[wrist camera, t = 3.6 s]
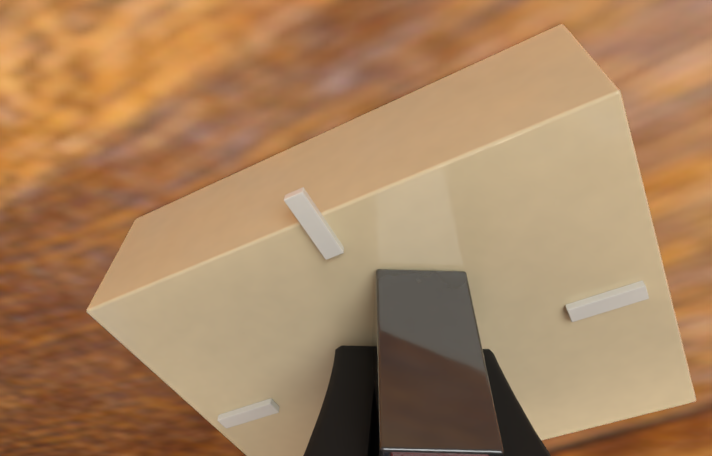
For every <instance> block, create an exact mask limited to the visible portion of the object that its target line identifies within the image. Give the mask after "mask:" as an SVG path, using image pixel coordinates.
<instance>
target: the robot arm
mask: <svg viewBox="0 0 712 456" xmlns="http://www.w3.org/2000/svg"><path fill="white" fill-rule="evenodd" d="M483 354H484V359H485V364H486V368H487V373H488V378H489V383H490V387H491V392H492V397H493V402H494V406H495V411H496V416H497V421H498V426H499V430H500V435H501V440H502V445H503V449H504V453H503V456H550V454H549V452H548V451H547V449H546V447H545V446H544V444H543V443H542V441H541V439H540V438H539V436H538V435H537V433H536V431H535V430H534V428H533V426H532V425H531V423H530V421H529V419H528V418H527V416H526V414H525V413H524V411H523V409H522V407H521V405H520V404H519V402H518V400H517V398H516V396H515V395H514V393H513V391H512V389H511V387H510V385H509V383H508V381H507V380H506V378H505V376H504V374H503V372H502V370H501V368H500V366H499V364H498V362H497V359H496V357H495V355H494V353H493V352H492V351H491V350H490V349H483ZM373 394H374V369H373V346H344V345H341V346H340V347H338V348H337V349H335V357H334V363H333V368H332V373H331V377H330V381H329V384H328V388H327V391H326V395H325V398H324V401H323V404H322V407H321V410H320V413H319V416H318V419H317V421H316V424H315V427H314V429H313V432H312V435H311V437H310V440H309V443H308V445H307V448H306V450H305V453H304V455H303V456H370V442H371V426H372V410H373Z"/></svg>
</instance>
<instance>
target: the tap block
mask: <svg viewBox="0 0 712 456" xmlns="http://www.w3.org/2000/svg"><path fill="white" fill-rule="evenodd" d="M377 269H394V270H434V271H465V272H466V274H467V278H468V283H469V287H470V292H471V297H472V302H473V306H474V311H475V316H476V321H477V325H478V330H479V335H480V340H481V344H482V349H490V350H491V351H492V352H493V353H494V355H495V357H496V359H497V362H498V364H499V366H500V368H501V370H502V372H503V374H504V376H505V378H506V380H507V381H508V383H509V385H510V387H511V389H512V391H513V393H514V395H515V396H516V398H517V400H518V402H519V404H520V405H521V407H522V409H523V411H524V413H525V414H526V416H527V418H528V419H529V421H530V423H531V425H532V426H533V428H534V430H535V431H536V433H537V435H538V436H539V438H540V439H541V441H542V440H546V439H550V438H554V437H558V436H562V435H565V434H569V433H573V432H577V431H581V430H585V429H589V428H593V427H597V426H601V425H605V424H609V423H613V422H617V421H621V420H625V419H629V418H633V417H637V416H641V415H645V414H649V413H653V412H657V411H660V410H664V409H668V408H672V407H676V406H680V405H684V404H688V403H692V402H695V401H696V396H695V392H694V388H693V384H692V379H691V375H690V371H689V367H688V363H687V359H686V355H685V351H684V347H683V343H682V339H681V335H680V331H679V327H678V323H677V318H676V314H675V310H674V306H673V302H672V298H671V294H670V290H669V286H668V282H667V278H666V274H665V270H664V266H663V261H662V257H661V253H660V249H659V245H658V241H657V237H656V233H655V229H654V225H653V221H652V217H651V213H650V209H649V204H648V200H647V196H646V192H645V188H644V184H643V180H642V176H641V172H640V168H639V164H638V160H637V156H636V152H635V148H634V143H633V139H632V135H631V131H630V127H629V123H628V119H627V115H626V111H625V107H624V103H623V99H622V95H621V91H620V90H619V89H618V88H617V87H616V86H615V84H614V83H613V82H612V81H611V80H610V78H609V77H608V76H607V75H606V74H605V73H604V71H603V70H602V69H601V68H600V67H599V66H598V64H597V63H596V62H595V61H594V60H593V58H592V57H591V56H590V55H589V54H588V53H587V51H586V50H585V49H584V48H583V47H582V45H581V44H580V43H579V42H578V41H577V40H576V38H575V37H574V36H573V35H572V34H571V33H570V31H569V30H568V29H567V28H566V27H565V25H564V24H560V25H558V26H556V27H553V28H551V29H549V30H547V31H545V32H542V33H540V34H538V35H536V36H534V37H532V38H529V39H527V40H525V41H523V42H521V43H518V44H516V45H514V46H512V47H510V48H508V49H505V50H503V51H501V52H499V53H497V54H494V55H492V56H490V57H488V58H486V59H484V60H481V61H479V62H477V63H475V64H473V65H470V66H468V67H466V68H464V69H462V70H460V71H457V72H455V73H453V74H451V75H449V76H446V77H444V78H442V79H440V80H438V81H436V82H433V83H431V84H429V85H427V86H425V87H422V88H420V89H418V90H416V91H414V92H412V93H409V94H407V95H405V96H403V97H401V98H399V99H396V100H394V101H392V102H390V103H388V104H385V105H383V106H381V107H379V108H377V109H375V110H372V111H370V112H368V113H366V114H364V115H361V116H359V117H357V118H355V119H353V120H351V121H348V122H346V123H344V124H342V125H340V126H337V127H335V128H333V129H331V130H329V131H327V132H324V133H322V134H320V135H318V136H316V137H313V138H311V139H309V140H307V141H305V142H303V143H300V144H298V145H296V146H294V147H292V148H289V149H287V150H285V151H283V152H281V153H279V154H276V155H274V156H272V157H270V158H268V159H265V160H263V161H261V162H259V163H257V164H255V165H252V166H250V167H248V168H246V169H244V170H241V171H239V172H237V173H235V174H233V175H231V176H228V177H226V178H224V179H222V180H220V181H217V182H215V183H213V184H211V185H209V186H207V187H204V188H202V189H200V190H198V191H196V192H193V193H191V194H189V195H187V196H185V197H183V198H180V199H178V200H176V201H174V202H172V203H169V204H167V205H165V206H163V207H161V208H159V209H156V210H154V211H152V212H150V213H148V214H145V215H143V216H141V217H139V218H137V219H135V221H134V223H133V224H132V226H131V228H130V230H129V232H128V234H127V236H126V237H125V239H124V241H123V243H122V245H121V247H120V249H119V250H118V252H117V254H116V256H115V258H114V260H113V262H112V263H111V265H110V267H109V269H108V271H107V273H106V275H105V277H104V278H103V280H102V282H101V284H100V286H99V288H98V290H97V291H96V293H95V295H94V297H93V299H92V301H91V303H90V304H89V306H88V308H87V310H86V312H87V313H88V314H89V315H90V316H91V317H92V318H93V319H95V320H96V321H97V322H98V323H99V324H100V325H101V326H102V327H103V328H105V329H106V330H107V331H108V332H109V333H110V334H111V335H112V336H113V337H115V338H116V339H117V340H118V341H119V342H120V343H121V344H122V345H123V346H125V347H126V348H127V349H128V350H129V351H130V352H131V353H132V354H134V355H135V356H136V357H137V358H138V359H139V360H140V361H141V362H142V363H144V364H145V365H146V366H147V367H148V368H149V369H150V370H151V371H152V372H154V373H155V374H156V375H157V376H158V377H159V378H160V379H161V380H162V381H164V382H165V383H166V384H167V385H168V386H169V387H170V388H171V389H173V390H174V391H175V392H176V393H177V394H178V395H179V396H180V397H181V398H183V399H184V400H185V401H186V402H187V403H188V404H189V405H190V406H191V407H193V408H194V409H195V410H196V411H197V412H198V413H199V414H200V415H201V416H203V417H204V418H205V419H206V420H207V421H208V422H209V423H210V424H212V425H213V426H214V427H215V428H216V429H217V430H218V431H219V432H220V433H222V434H223V435H224V436H225V437H226V438H227V439H228V440H229V441H230V442H232V443H233V444H234V445H235V446H236V447H237V448H238V449H239V450H240V451H242V452H243V453H244V454H245V455H246V456H303V455H304V453H305V450H306V448H307V445H308V443H309V440H310V437H311V435H312V432H313V429H314V427H315V424H316V421H317V419H318V416H319V413H320V410H321V407H322V404H323V401H324V398H325V395H326V391H327V388H328V384H329V381H330V377H331V373H332V368H333V363H334V357H335V349H337V348H338V347H340V346H341V345H344V346H372V328H373V311H374V293H375V275H376V271H377Z"/></svg>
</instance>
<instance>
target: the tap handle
mask: <svg viewBox="0 0 712 456" xmlns="http://www.w3.org/2000/svg"><path fill="white" fill-rule="evenodd" d="M372 346H373V369H374V394H373V410H372V426H371V442H370V456H503V453H504V449H503V445H502V440H501V435H500V430H499V426H498V421H497V416H496V411H495V406H494V402H493V397H492V392H491V387H490V383H489V378H488V373H487V368H486V364H485V359H484V354H483V349H482V344H481V340H480V335H479V330H478V325H477V321H476V316H475V311H474V306H473V302H472V297H471V292H470V287H469V283H468V278H467V274H466V272H465V271H434V270H394V269H377V271H376V275H375V293H374V311H373V328H372Z"/></svg>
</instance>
